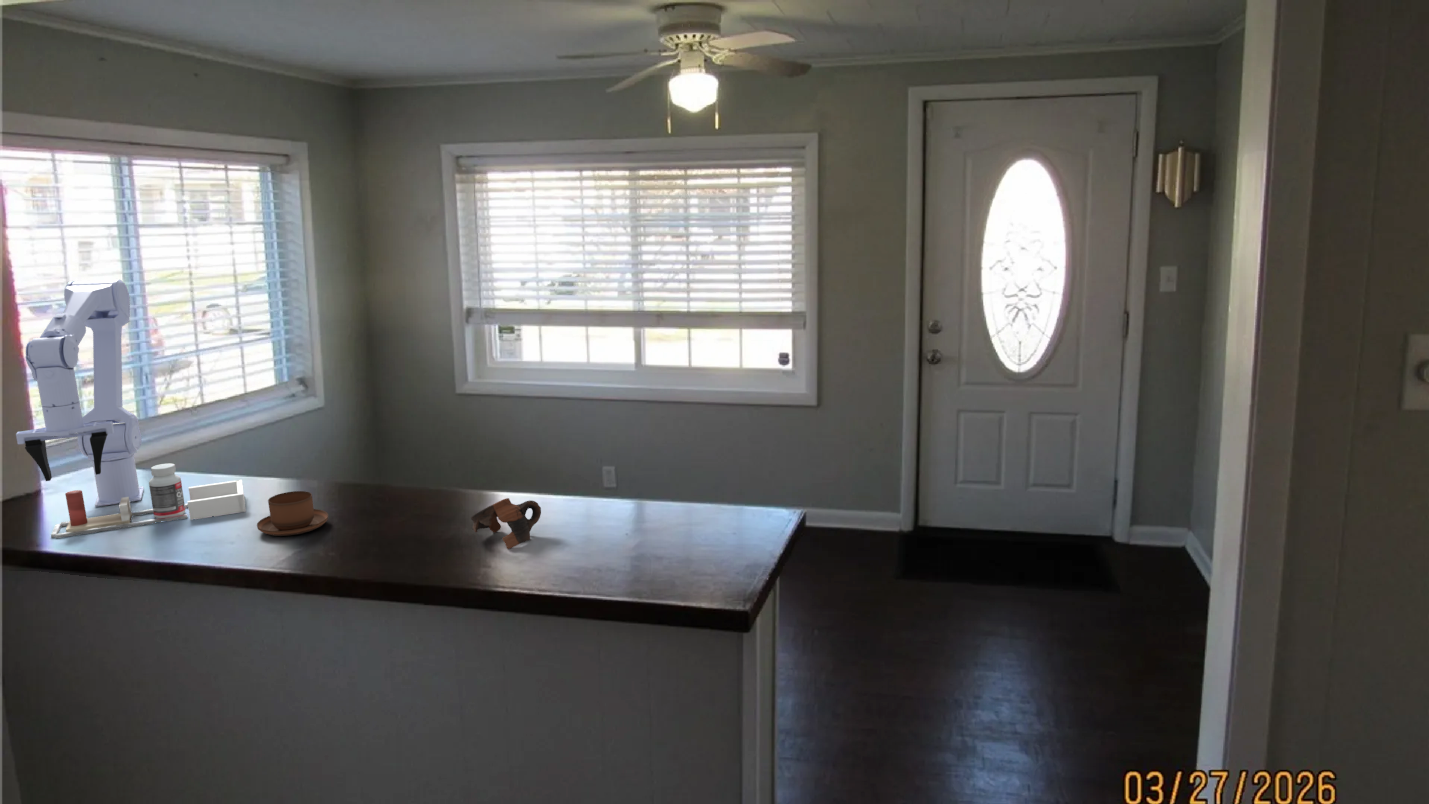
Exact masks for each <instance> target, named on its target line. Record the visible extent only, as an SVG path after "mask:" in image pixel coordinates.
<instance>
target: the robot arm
mask: <svg viewBox="0 0 1429 804" xmlns="http://www.w3.org/2000/svg"><path fill="white" fill-rule="evenodd" d="M63 296H64V302H65V304H66V306H65V308H64V310H63V311H62V312H63V313H56V314H55V315H54V316H53V317H52V318H51V319H50V321H49V322H48V324H47V326H46V328H45V329H44V330H43V332H42V334H41V335H40V336H39V337H34V338H32V340H31V341H28V342H27V343H26V345H25V361H26V364H27V366H28V368H29V369H30V371H31V375H32V378H33V380H34V381H37V388H38V393H39V399H40V403H41V404H40V405H41V408H42V409H41V411H42V416H43V420H44V426H45V427H41V428H35V429H29V430H23V431H17V432H16V433H15V437H16V441H17V442H16V443H17V445H25V447H24V449H25V451H26V452H27V453H28V455H30V456H31V457H32V459H33V460H34V461H35V463H36V464H37V466H38V468H39V469H40V471H41V473H42V475H43V477H44V480H45V482H50V481H51V480H52V478H53V476H52V471H51V468H50V464H49V463H50V462H49V459H48V455H47V454H48V453H47V452H48V451H47V445H46V441H52V440H59V439H69V438H76V437H77V446H78V449H79V451H80V453H81V454H82V456H84V457H87V461H88V462H89V461H91V462H92V467H93V473H94V479H95V485H96V490H97V491H96V493H97V498H96V500H95V503H94V507H102V506H110V505H117V504H120V502H121V498H123V497H129V500H130V503H132V502H138V501H142V499H143V494H144V489H145V487H144V485H143V486H139V485H140V484H139V478H138V474H137V473H138V472H137V466H136V461H135V454H136V453H137V452H138V451H139V450H140V449H141V446H142V433H141V429H140V424H139V419H138V417H137V416H136V415H135V414H134V413H132V412H130V411H129V410H128V409H126V408H124V407H123V366H122V363H123V358H122V357H123V355H122V332H123V326H125V325H127V324H128V323H130V316H131V303H130V301H131V298H130V297H131V296H130V293H129V291H128V287H127V285H126V283H125V282H124V281H123V280H121V279H118V278H116V279H114V280H89V281H73V280H71V281H68V282H67V284H66V285H65V287H64V292H63ZM86 327H87V328H88V329H89V328H90V329H91V331H92V336H93V337H92V343H93V344H92V346H93V347H92V349H93V352H92V354H93V361H92V362H93V408H92V409H91V410H90V411H88V412H87V413H85V414H84V415H83V413H82V408H81V402H80V398H79V390H78V385H77V378H76V374H75V373H76V372H75V367H76V366H77V365H78V360H79V353H80V348H79V345H80V343H81V342H82V340H83V338H84V336H85V334H86V333H87V328H86Z"/></svg>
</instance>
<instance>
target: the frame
mask: <svg viewBox="0 0 1429 804" xmlns="http://www.w3.org/2000/svg"><path fill="white" fill-rule="evenodd" d="M243 485H244V484H243V479H237V480H230V481H229V480H228V481H224V482H222V481H221V482H216V483H209V484H203V485H194V486H188V493H189V499H190V500H187V504H188V508H187V509H188V513H189V521H193V519H195V520H200V519H201V520H202V519H206V518H213V517H212V516H214V517H220V516H225V515H231V514H239V513H246V512H247V510H246V509H247V508H246V501H245V492H244V486H243Z"/></svg>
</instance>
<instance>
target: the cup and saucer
mask: <svg viewBox="0 0 1429 804" xmlns="http://www.w3.org/2000/svg"><path fill="white" fill-rule="evenodd" d="M313 501H314V500H313V494H312V492H309V491H306V490H298V491H297V490H296V491H295V490H294V491H287V492H281V493H278V494H274V495H273V496H270V497H269V498H268V500H267V502H268V509H269V515H268V516H265V517H263V518H262V519H260V520H258V522H257V523H256V527H257V529H258V531H260V532H261V533H263V534H265V535H269V536H276V537H277V536H279V537H281V536H282V537H286V536H287V537H288V536H295V535H301V534H305V533H308V532H311V531H314V530H316V529H318V528H320V527H322V526H323V525H324V524H325V523H326V522H327V521H328V520H329V513H328V512H327V511H325V510H322V509H319V508H318V509H317V508H314V502H313Z"/></svg>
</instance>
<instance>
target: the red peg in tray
mask: <svg viewBox="0 0 1429 804" xmlns="http://www.w3.org/2000/svg"><path fill="white" fill-rule="evenodd" d="M64 495H65V499H66V506H67V511H68V516H69V520H68V521H69V523H68V526H66V529H65V533H66V532H72V531H79V530H86V529H92V528H99V527H105V526H112V525H119V524H125V523H132V519H133V516H132V512H133V511H132V508H131V502H130V500H129V497H123V498H121V502H120V503H119V505H118V506H119V513H113V514H108V515H107V514H106V515H100V516H94V517H88V516H87V511H86V505H85V501H84V495H83V491H82V490H81V489H78V490H70V491H67V492H65V494H64Z"/></svg>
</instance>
